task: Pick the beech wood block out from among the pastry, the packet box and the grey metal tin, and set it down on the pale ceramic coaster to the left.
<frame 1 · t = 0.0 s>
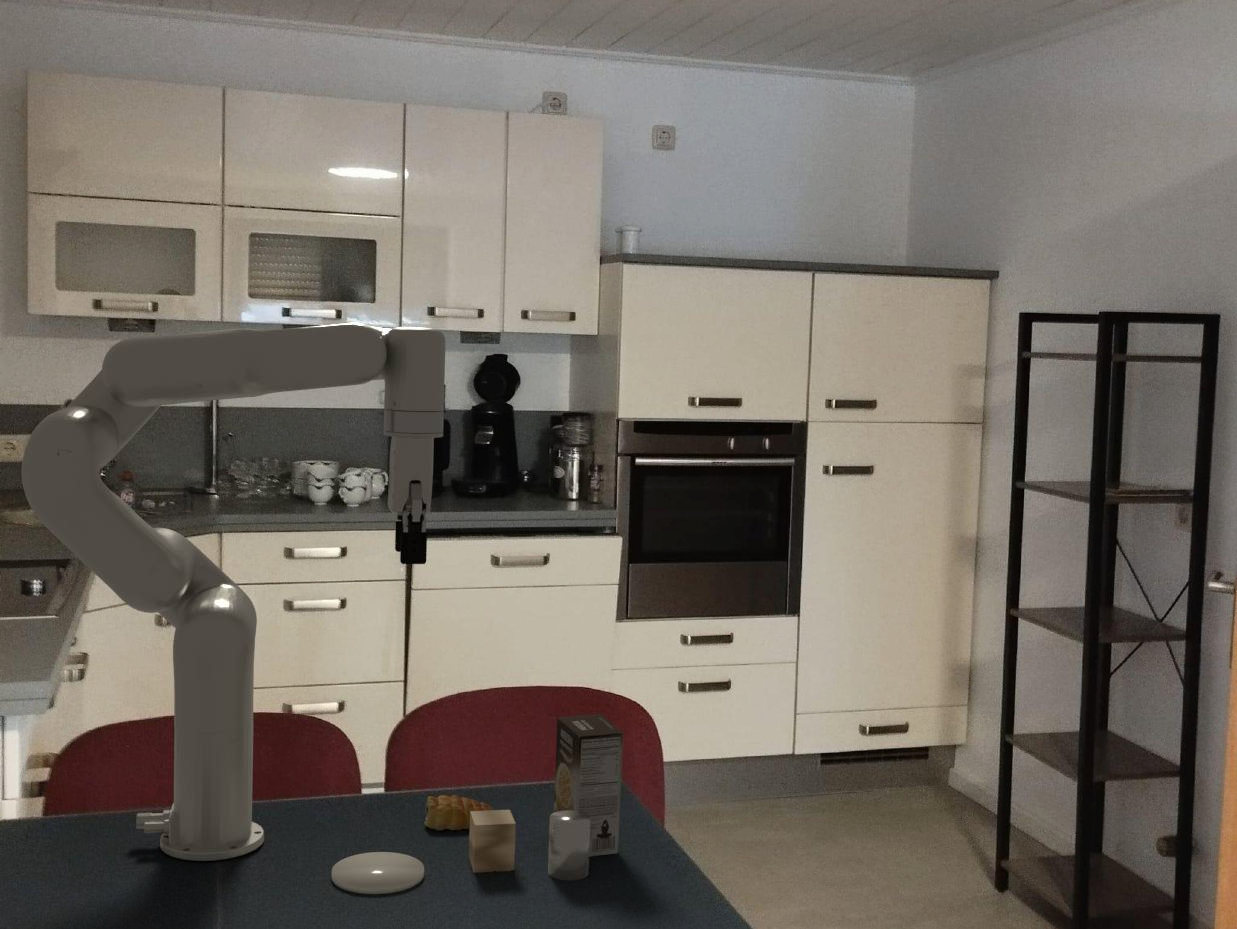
hand: (410, 557, 172), 37 cm above the table, tool pointing down, fingers open, 9 cm apart
tin: (568, 872, 165), on the table
coffee box: (585, 845, 175), on the table
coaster: (378, 875, 162), on the table
block: (491, 864, 167), on the table
pastry: (453, 825, 181), on the table
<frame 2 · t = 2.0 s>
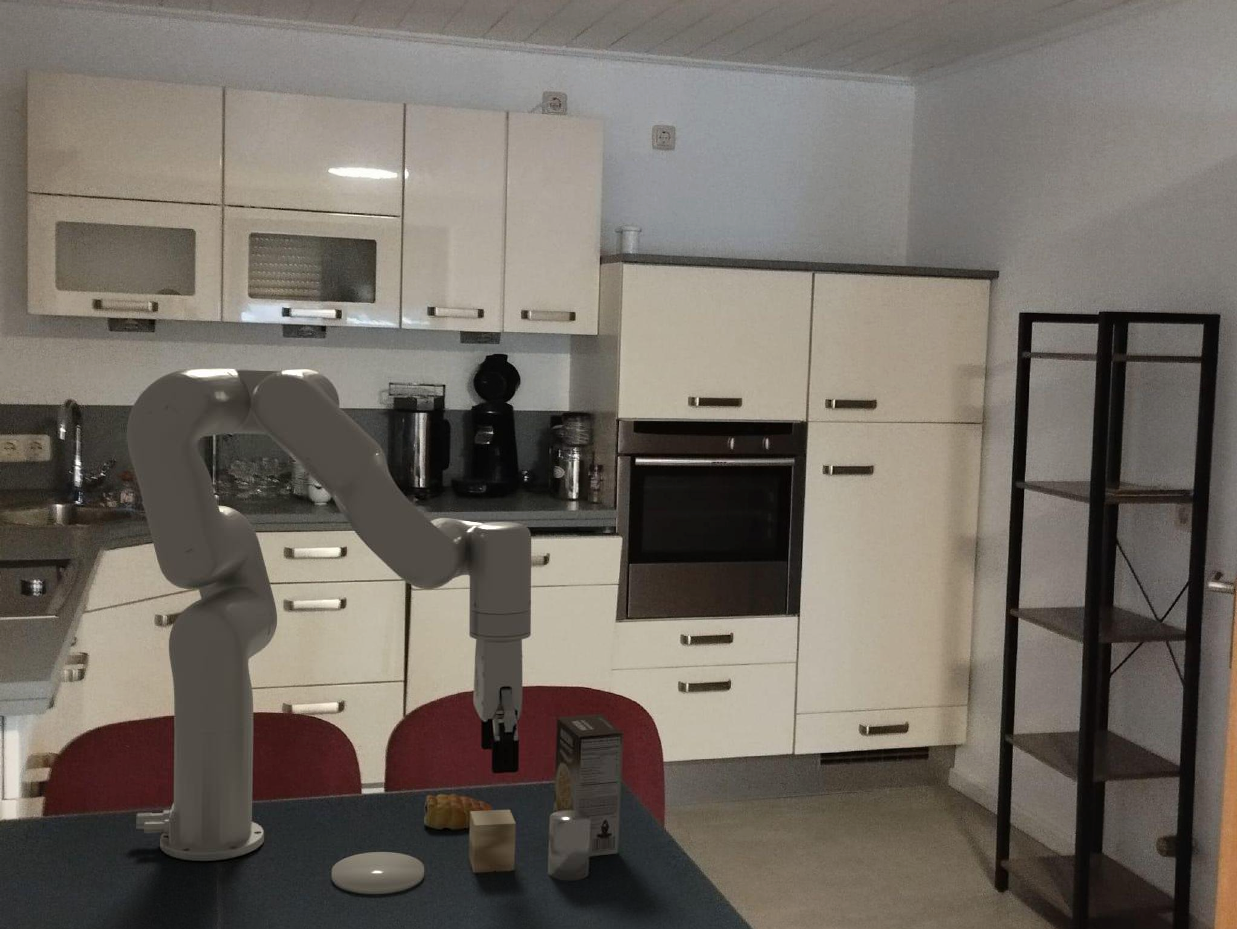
hand: (499, 759, 166), 13 cm above the table, tool pointing down, fingers open, 9 cm apart
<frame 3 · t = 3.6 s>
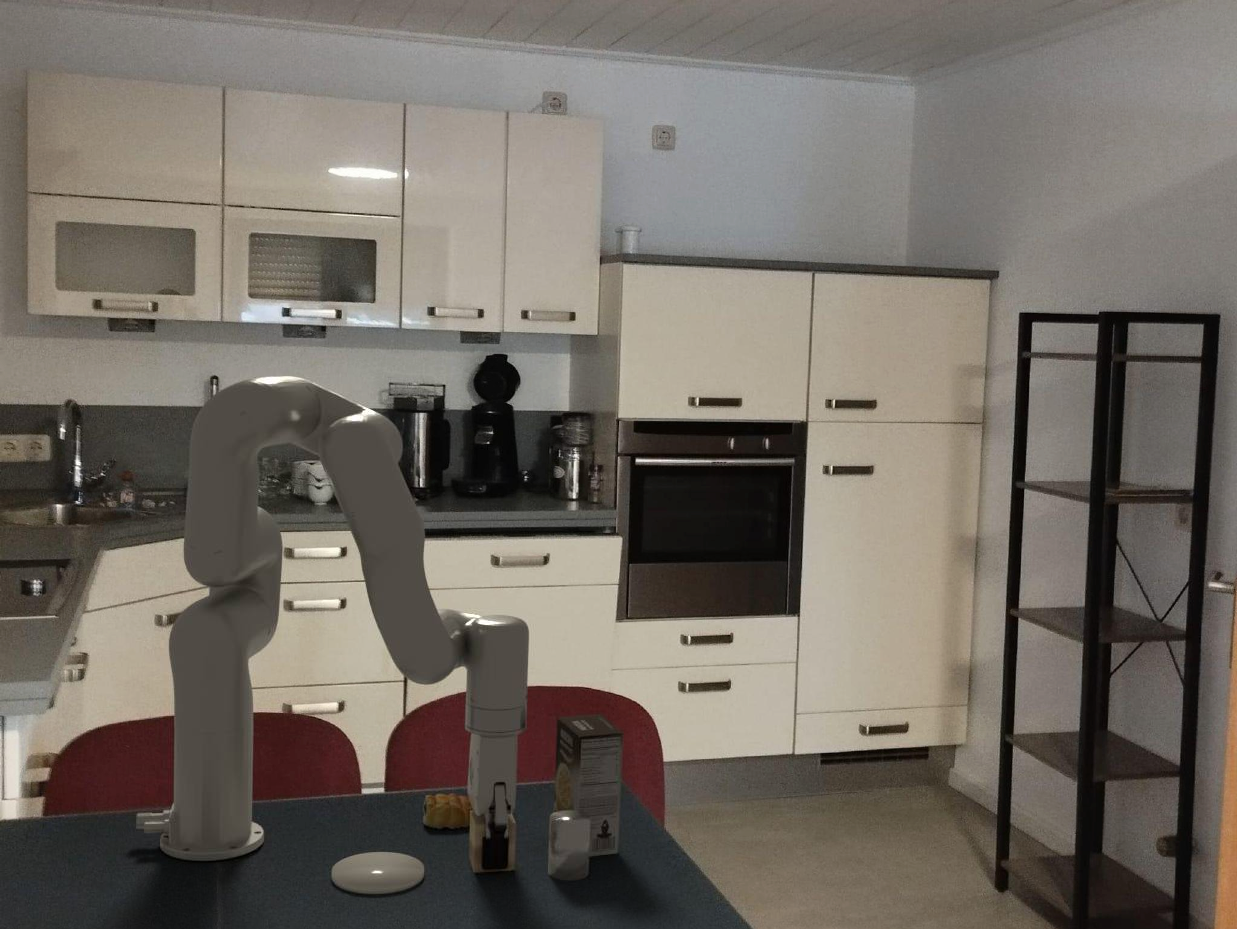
hand: (491, 858, 167), 1 cm above the table, tool pointing down, fingers closed on block, 5 cm apart
block: (491, 863, 167), on the table, touching gripper
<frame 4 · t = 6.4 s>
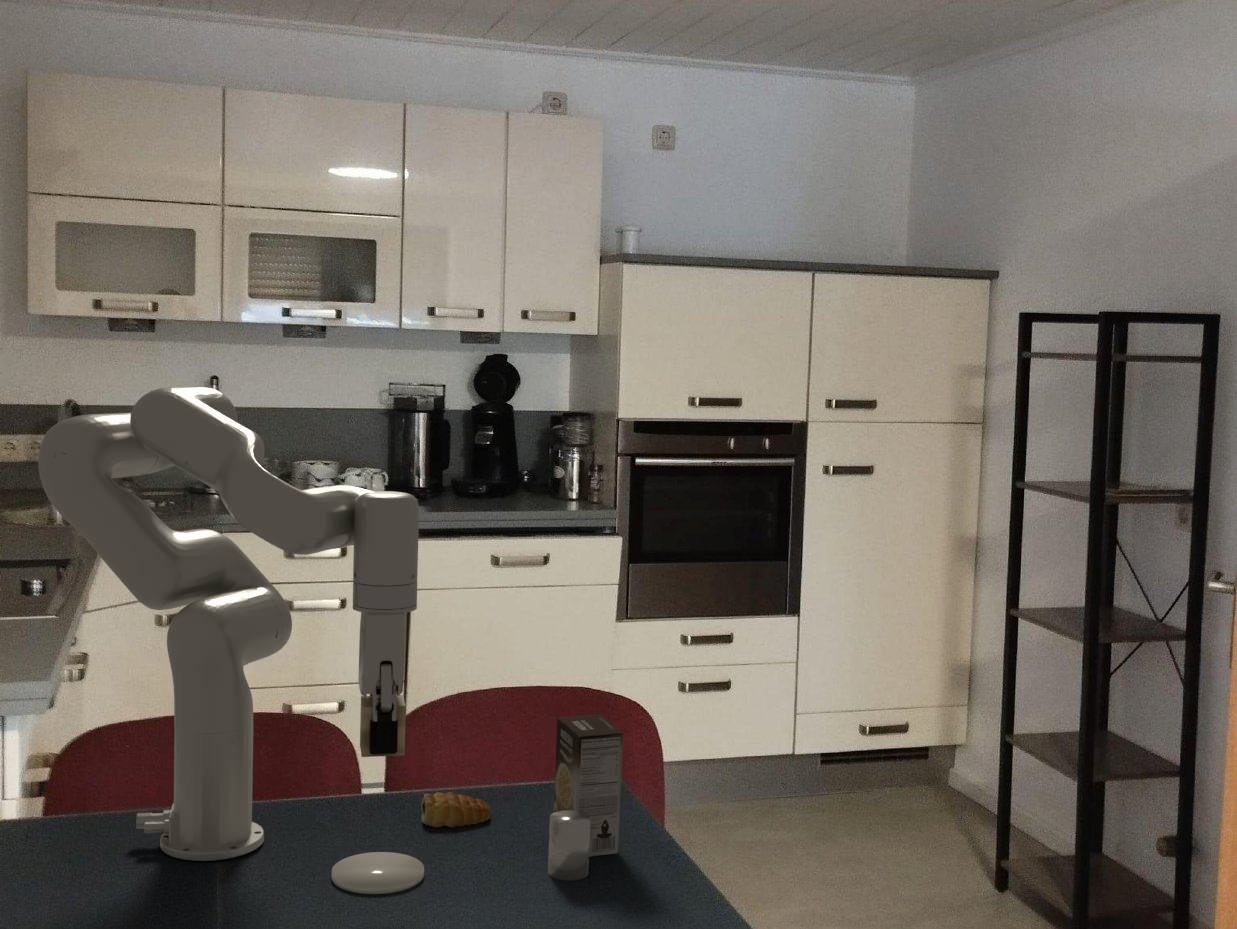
hand: (381, 744, 160), 16 cm above the table, tool pointing down, fingers closed on block, 5 cm apart
block: (381, 750, 160), point 16 cm above the table, touching gripper
when the fingers open (3 cm above the table, at t = 9.1 s): block drops 1 cm, resting on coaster.
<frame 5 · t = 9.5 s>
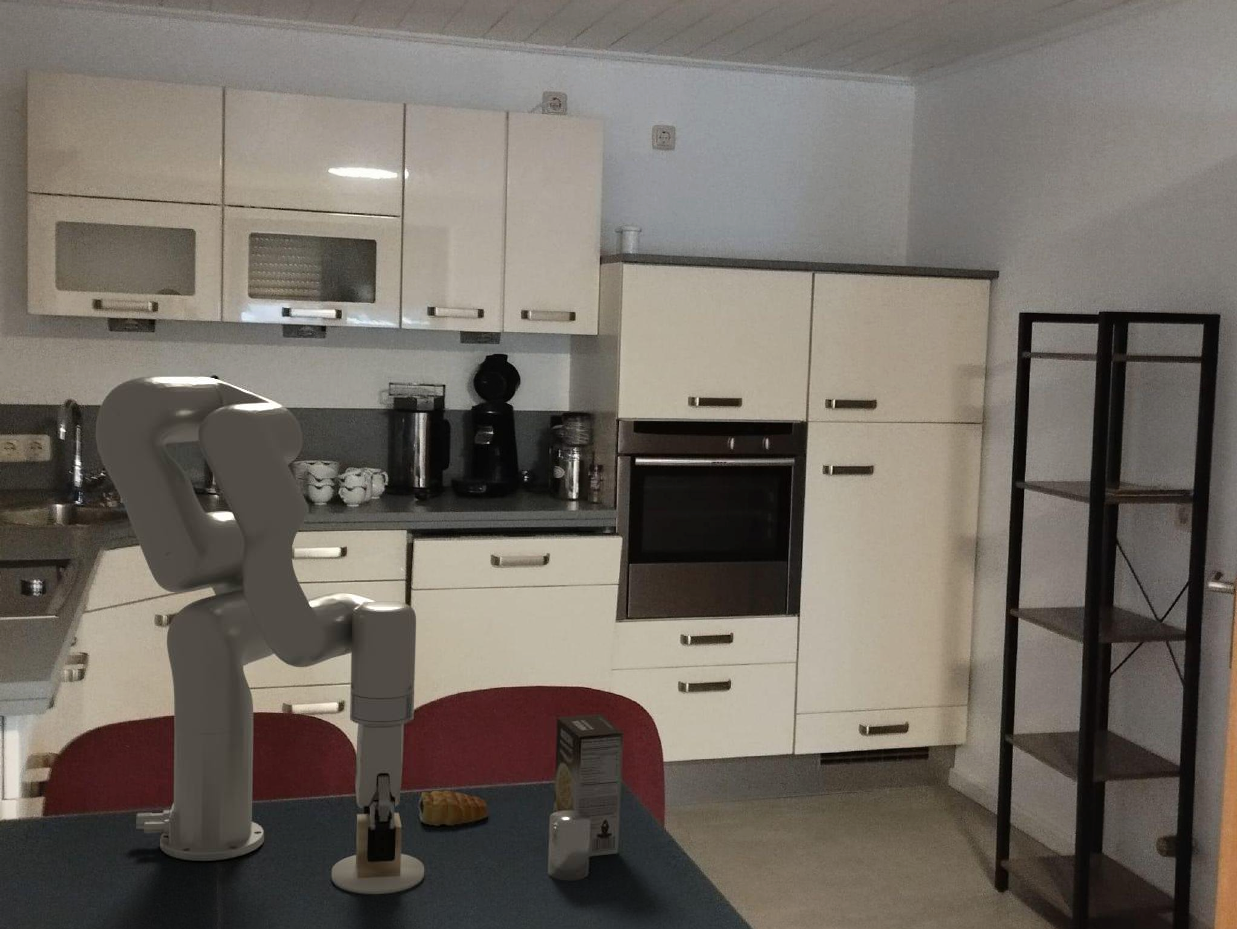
hand: (378, 845, 161), 4 cm above the table, tool pointing down, fingers open, 9 cm apart
block: (377, 868, 162), point 1 cm above the table, touching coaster
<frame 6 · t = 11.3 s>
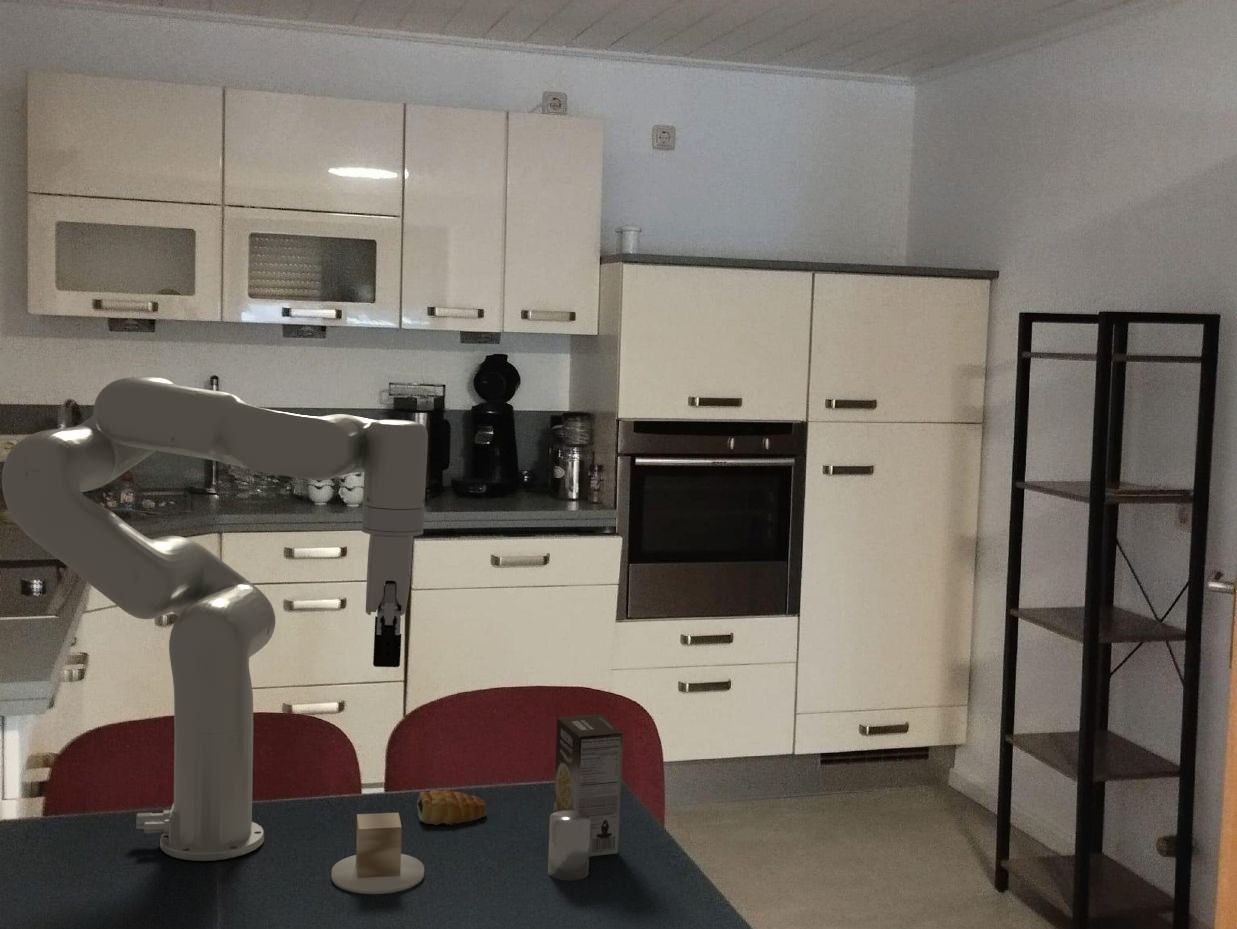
hand: (386, 656, 166), 25 cm above the table, tool pointing down, fingers open, 9 cm apart
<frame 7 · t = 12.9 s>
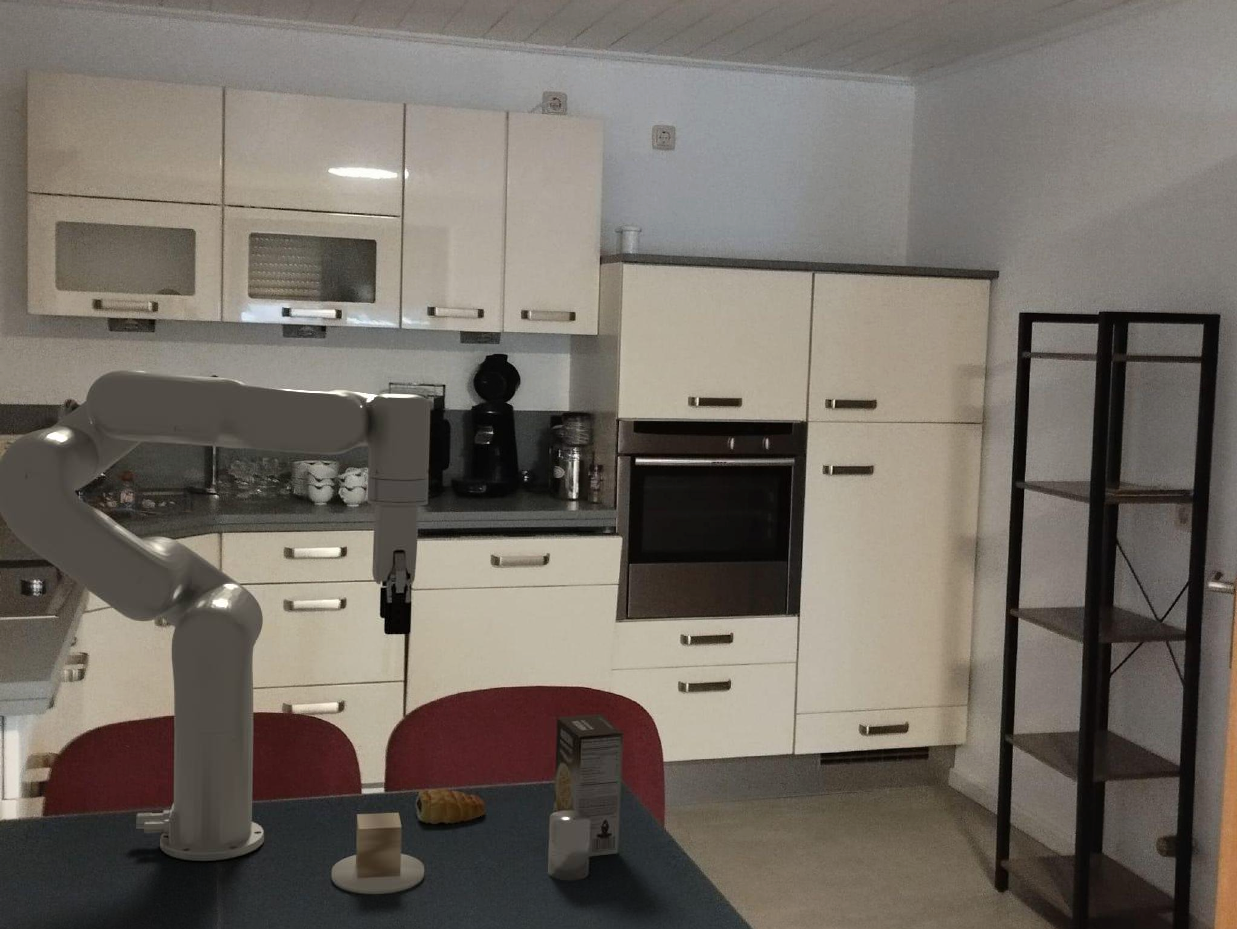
hand: (394, 625, 170), 28 cm above the table, tool pointing down, fingers open, 9 cm apart
at the end: block inside the target area on the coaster (0.1 cm from its centre), point 0.8 cm above the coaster's base; block tilted 0°; the gripper is holding nothing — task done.
